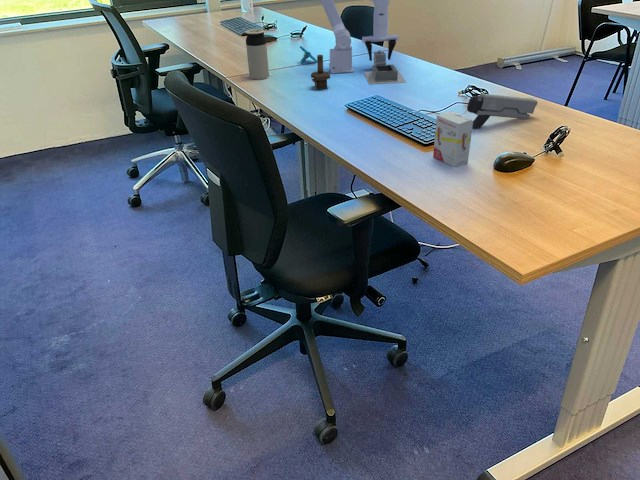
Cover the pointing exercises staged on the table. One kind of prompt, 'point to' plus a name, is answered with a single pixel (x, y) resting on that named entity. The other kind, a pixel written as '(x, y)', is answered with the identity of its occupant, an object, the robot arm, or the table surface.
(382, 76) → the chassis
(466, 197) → the table surface
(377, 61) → the servo
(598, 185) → the table surface
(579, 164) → the table surface
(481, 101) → the gun
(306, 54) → the teal angled stand
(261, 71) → the travel mug
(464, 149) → the ink box
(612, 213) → the table surface
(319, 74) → the industrial component
